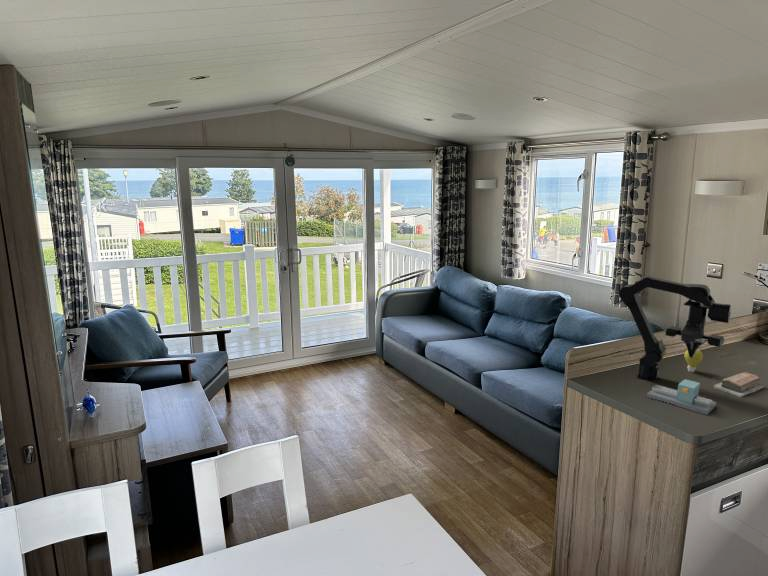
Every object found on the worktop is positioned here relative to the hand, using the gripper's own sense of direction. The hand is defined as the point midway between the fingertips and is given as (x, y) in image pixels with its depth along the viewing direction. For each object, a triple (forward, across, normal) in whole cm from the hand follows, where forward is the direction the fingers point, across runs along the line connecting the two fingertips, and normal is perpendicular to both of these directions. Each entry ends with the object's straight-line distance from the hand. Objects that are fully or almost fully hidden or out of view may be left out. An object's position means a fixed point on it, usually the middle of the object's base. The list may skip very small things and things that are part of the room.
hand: (691, 357), depth 205 cm
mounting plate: (+12, +3, -17) cm, 21 cm away
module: (+10, +5, -17) cm, 20 cm away
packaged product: (+13, +14, +14) cm, 23 cm away
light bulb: (+12, -4, +19) cm, 23 cm away
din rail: (+11, +3, -17) cm, 20 cm away
